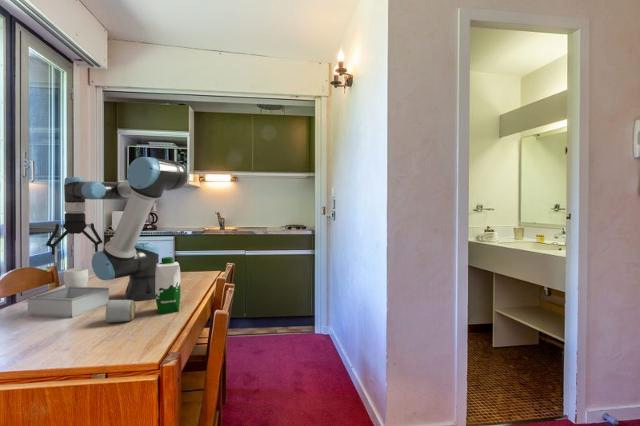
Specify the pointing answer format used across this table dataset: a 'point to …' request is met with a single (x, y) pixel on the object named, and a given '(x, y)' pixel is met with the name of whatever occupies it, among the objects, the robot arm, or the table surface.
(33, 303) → the crate
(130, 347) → the table surface
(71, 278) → the cup
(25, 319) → the table surface
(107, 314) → the grey cylinder
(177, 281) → the milk carton
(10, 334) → the table surface
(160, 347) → the table surface
